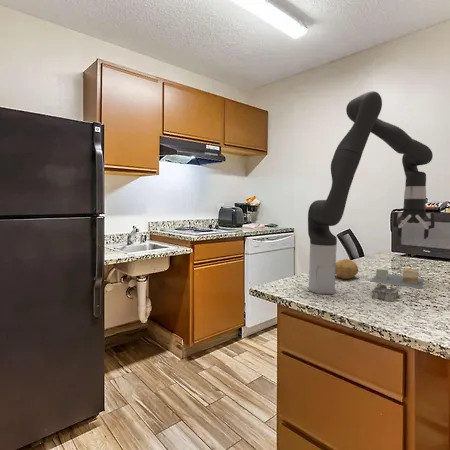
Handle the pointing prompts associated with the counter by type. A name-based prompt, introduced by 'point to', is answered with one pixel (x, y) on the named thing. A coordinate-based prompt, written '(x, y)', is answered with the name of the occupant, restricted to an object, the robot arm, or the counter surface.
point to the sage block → (382, 273)
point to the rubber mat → (399, 281)
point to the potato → (346, 269)
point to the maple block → (410, 275)
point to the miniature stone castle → (385, 292)
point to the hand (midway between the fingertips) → (412, 237)
